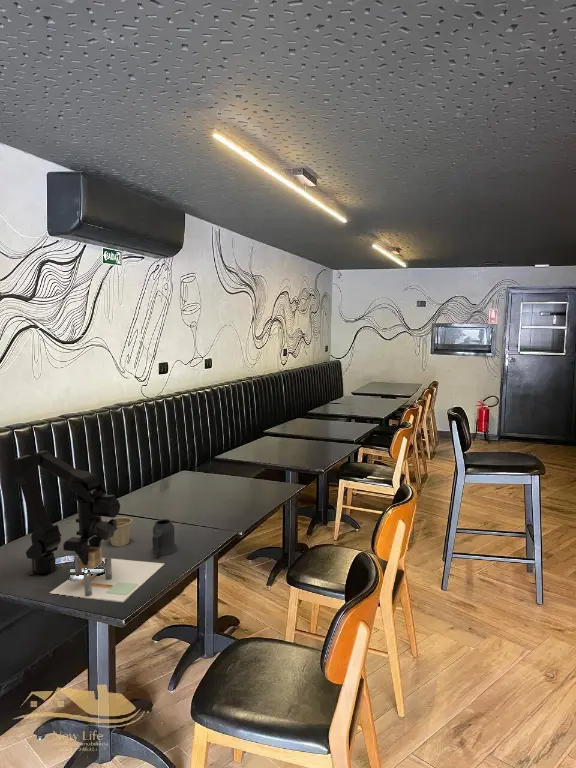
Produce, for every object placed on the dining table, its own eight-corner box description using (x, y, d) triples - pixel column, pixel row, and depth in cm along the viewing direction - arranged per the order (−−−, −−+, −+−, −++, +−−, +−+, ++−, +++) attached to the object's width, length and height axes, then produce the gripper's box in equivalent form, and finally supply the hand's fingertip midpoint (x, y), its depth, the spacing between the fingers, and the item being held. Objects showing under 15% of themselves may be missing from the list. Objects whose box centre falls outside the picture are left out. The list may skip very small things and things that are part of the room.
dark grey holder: (158, 546, 203) (156, 516, 202) (181, 547, 201) (180, 518, 200) (143, 559, 191) (141, 528, 190) (167, 561, 189) (166, 529, 188)
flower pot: (102, 544, 206) (101, 521, 205) (125, 537, 212) (124, 515, 211) (114, 551, 199) (113, 528, 198) (137, 543, 206) (136, 521, 205)
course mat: (49, 594, 167) (49, 592, 167) (99, 558, 193) (99, 556, 193) (123, 602, 161) (123, 600, 161) (164, 564, 187) (164, 563, 187)
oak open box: (79, 567, 174) (78, 552, 174) (88, 561, 179) (87, 546, 178) (93, 569, 173) (92, 553, 172) (102, 562, 178) (101, 547, 177)
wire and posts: (85, 596, 164) (84, 575, 163) (74, 574, 179) (73, 555, 178) (118, 588, 169) (117, 568, 168) (105, 567, 184) (104, 549, 183)
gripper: (93, 526, 163) (96, 576, 165) (126, 506, 181) (128, 552, 183) (60, 523, 166) (63, 573, 168) (96, 504, 184) (98, 549, 186)
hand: (90, 561), depth 176 cm, fingers closed on oak open box, 5 cm apart
